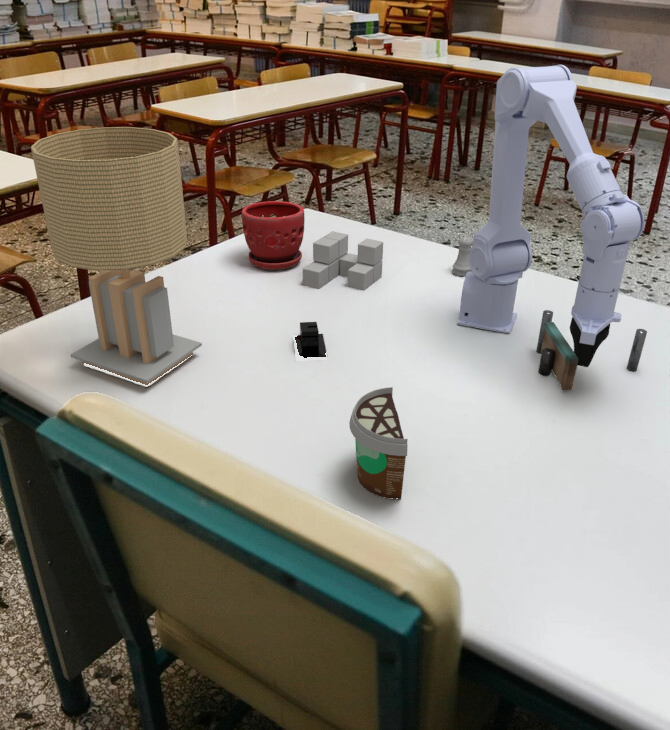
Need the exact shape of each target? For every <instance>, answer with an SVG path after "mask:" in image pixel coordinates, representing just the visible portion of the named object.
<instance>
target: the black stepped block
mask: <svg viewBox="0 0 670 730" xmlns="http://www.w3.org/2000/svg"><path fill="white" fill-rule="evenodd" d="M297 335H298V336H297V337H295V340H296V343H297V349H298V352H299V355H300V356H303V357H304V358H307V357H326V355H325V353H326V352H327V347H326V344H325V338H324V333H319V327H318V322H317V321H302V322H299V334H297Z"/></svg>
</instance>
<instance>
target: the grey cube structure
mask: <svg viewBox="0 0 670 730" xmlns="http://www.w3.org/2000/svg"><path fill="white" fill-rule="evenodd" d="M348 252H349V234H348V233H341V232H339V231H338V232H337V231H331V232H329V233H327V234H326V235H324V236H323V237H321V238H319V239H317V240H316V241H314V242H313V243H312V261H313V262H311V263H309V264H307V265H306V266H304V267H302V286H305V287H308V288H313V289H316V290H320V289H322V288H323V287H325V286H326V285H327V284H329V283H330V282H332V281H333V280H334V279H336V278H337V277H339V276H341V277H344V278H347V287H348V288H351V289H356V290H358V291H363V292H365V291H366V290H367V289H369V288H370V287H371V286H373V284H375V283H377V282H378V281H379V280H380V279H381V278H383V277H382V276H383V260H384V259H383V258H384V257H383V256H384V255H383V254H384V241H381V240H377V239H371V238H365V239H364V240H362V241H361V242H359V243H358V244H357V254H355V253H351V252H349V253H348Z"/></svg>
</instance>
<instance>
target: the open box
mask: <svg viewBox="0 0 670 730" xmlns="http://www.w3.org/2000/svg"><path fill="white" fill-rule="evenodd" d="M544 328H545V332H544V338H543V343H542V348H541V353H542V350H543V349H545V348H549V349H553V350H554V351H555V355H554V361H553V366H552V371H551V372H552V373H553V374H554V376H555V378H556V379H557V381H558V383H559V384H560V388H561V390H562V391H573V386H574V382H575V378H576V372H577V369H578V365H577V364H578V360H579V359H578V357H577V356H576V354H575V353H574V349H573V348H572V347H571V346H570V344H569V342H568V340H566V337H565V336H564V335H563V334H562V332H561V331H560V329H559V328H558V326H557V325H556V323H555V322H554V321H552V322H545V326H544Z"/></svg>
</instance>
